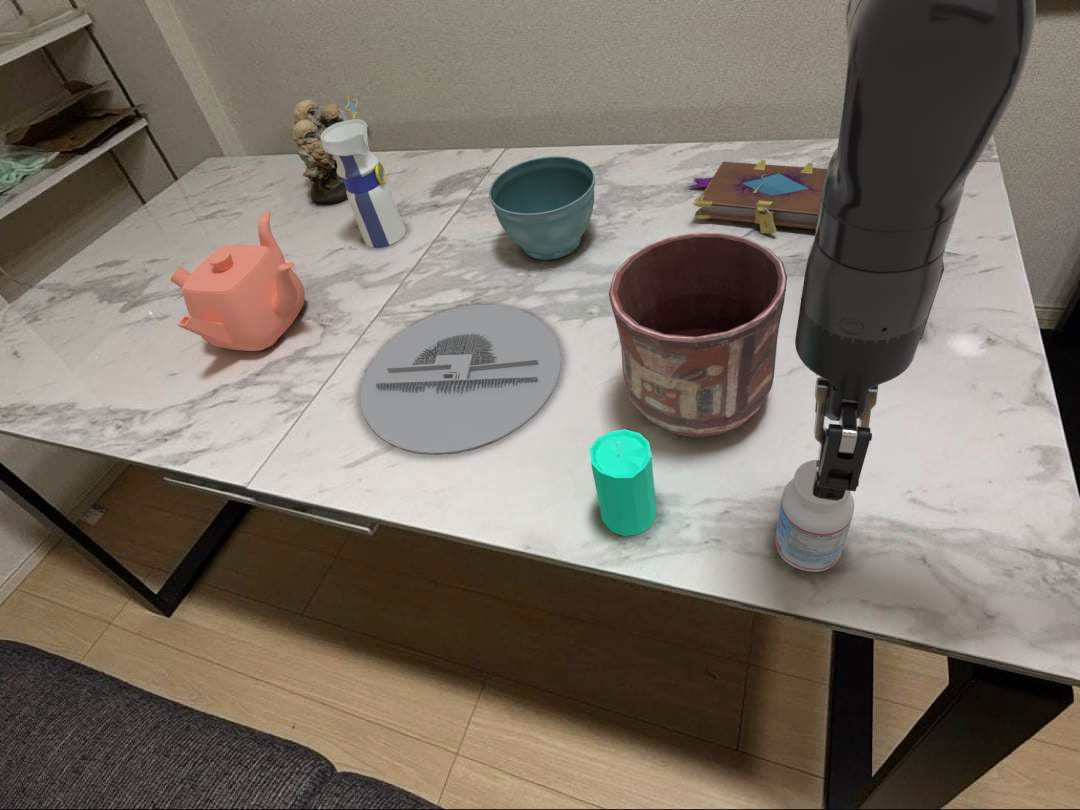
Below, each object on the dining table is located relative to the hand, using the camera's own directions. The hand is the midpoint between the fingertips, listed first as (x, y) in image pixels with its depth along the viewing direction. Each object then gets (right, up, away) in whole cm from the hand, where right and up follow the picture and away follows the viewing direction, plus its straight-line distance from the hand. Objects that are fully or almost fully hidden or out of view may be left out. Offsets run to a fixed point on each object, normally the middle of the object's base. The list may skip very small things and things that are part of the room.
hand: (827, 451), depth 54 cm
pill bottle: (+3, -10, +11) cm, 15 cm away
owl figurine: (-63, +49, +81) cm, 114 cm away
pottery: (-5, +4, +26) cm, 27 cm away
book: (+11, +35, +51) cm, 63 cm away
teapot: (-67, +17, +53) cm, 87 cm away
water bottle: (-51, +34, +65) cm, 89 cm away
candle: (-14, -8, +17) cm, 24 cm away
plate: (-34, +8, +37) cm, 51 cm away
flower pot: (-21, +30, +54) cm, 65 cm away
